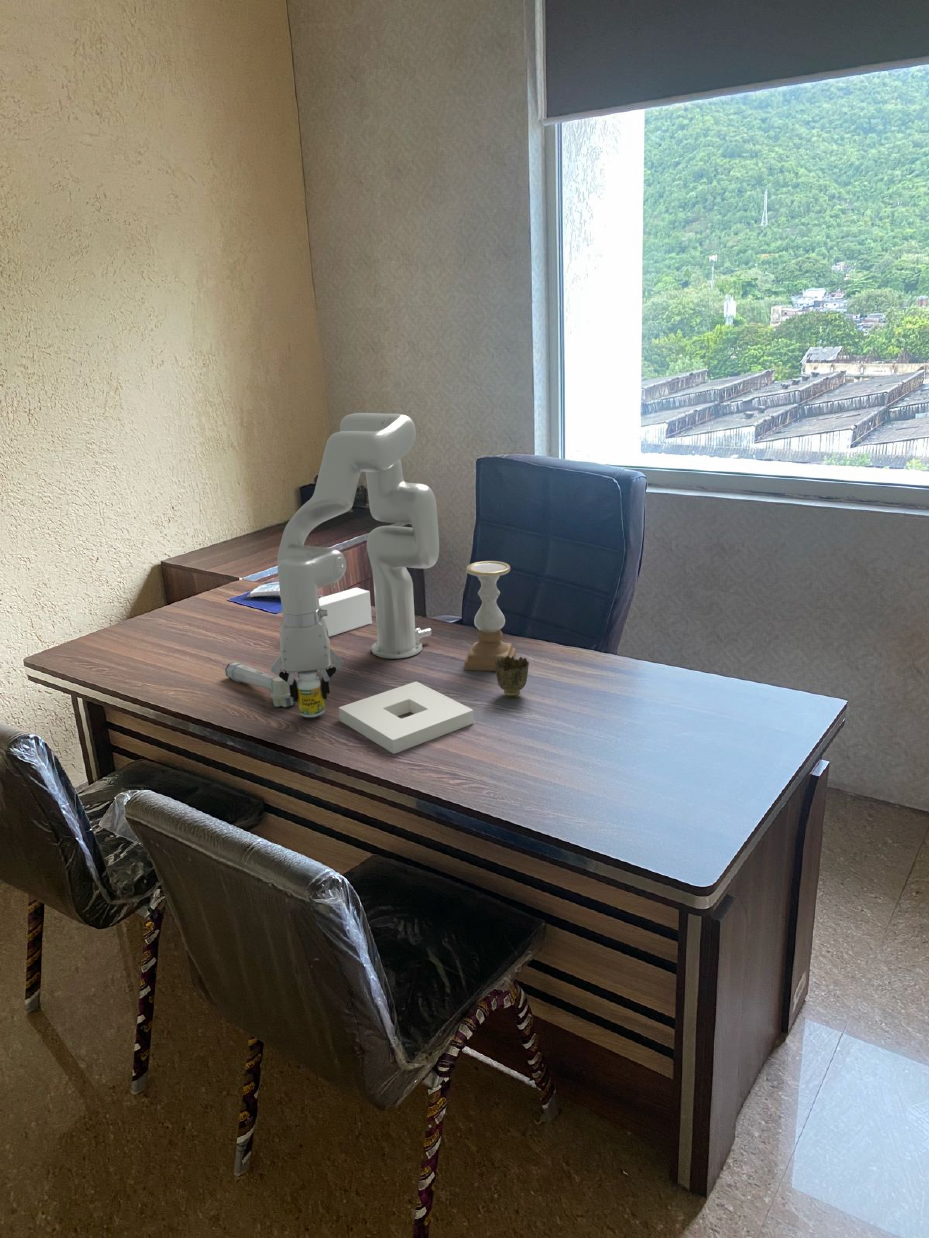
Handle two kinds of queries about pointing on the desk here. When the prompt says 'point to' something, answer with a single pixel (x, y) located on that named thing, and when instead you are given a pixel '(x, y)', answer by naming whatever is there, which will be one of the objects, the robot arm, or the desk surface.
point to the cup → (511, 675)
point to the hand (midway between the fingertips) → (310, 697)
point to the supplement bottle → (310, 694)
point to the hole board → (399, 734)
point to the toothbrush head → (262, 682)
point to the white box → (346, 610)
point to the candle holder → (488, 619)
